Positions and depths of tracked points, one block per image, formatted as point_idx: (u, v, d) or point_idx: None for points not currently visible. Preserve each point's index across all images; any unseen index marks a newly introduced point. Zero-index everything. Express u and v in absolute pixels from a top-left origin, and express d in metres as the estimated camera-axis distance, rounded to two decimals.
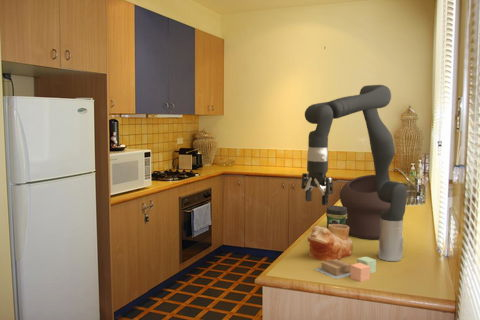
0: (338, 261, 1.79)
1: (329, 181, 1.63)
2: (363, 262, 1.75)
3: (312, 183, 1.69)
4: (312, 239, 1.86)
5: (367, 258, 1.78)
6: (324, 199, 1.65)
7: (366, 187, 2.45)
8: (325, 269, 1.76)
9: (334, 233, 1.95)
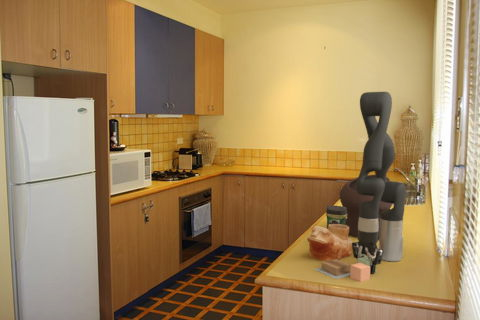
0: (338, 261, 1.79)
1: (380, 254, 1.71)
2: (363, 262, 1.75)
3: (363, 251, 1.76)
4: (312, 239, 1.86)
5: (367, 258, 1.78)
6: (372, 269, 1.74)
7: None
8: (325, 269, 1.76)
9: (334, 233, 1.95)
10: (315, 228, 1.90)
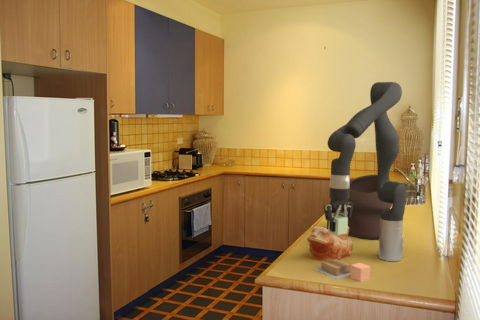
0: (338, 261, 1.79)
1: (325, 209, 1.71)
2: None
3: None
4: (312, 239, 1.86)
5: (341, 217, 1.74)
6: None
7: (366, 187, 2.45)
8: (325, 269, 1.76)
9: None
10: (315, 228, 1.90)
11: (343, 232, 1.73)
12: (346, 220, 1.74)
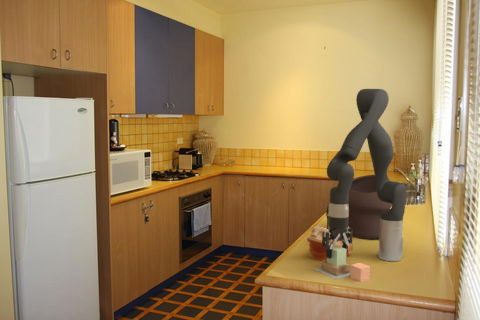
0: None
1: (323, 235, 1.72)
2: None
3: None
4: (312, 239, 1.86)
5: (339, 248, 1.75)
6: None
7: (366, 187, 2.45)
8: (325, 269, 1.76)
9: None
10: (315, 228, 1.90)
11: (342, 263, 1.75)
12: (345, 252, 1.75)
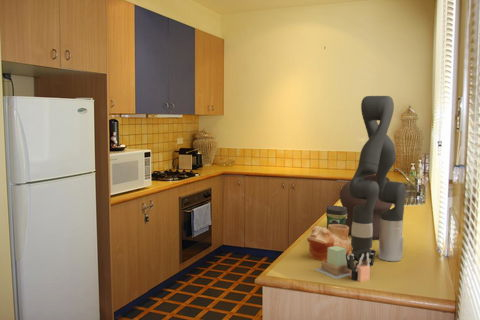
0: None
1: (347, 258, 1.65)
2: None
3: None
4: (312, 239, 1.86)
5: (339, 248, 1.75)
6: None
7: None
8: (325, 269, 1.76)
9: (334, 233, 1.95)
10: (315, 228, 1.89)
11: (342, 263, 1.75)
12: (345, 252, 1.75)
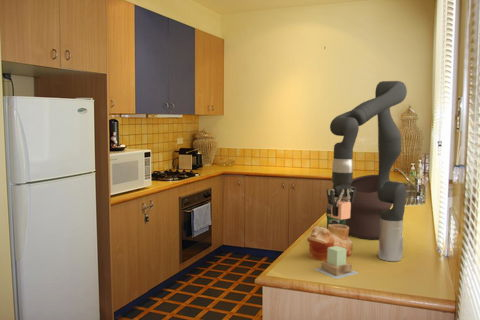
0: None
1: (328, 193, 1.69)
2: None
3: None
4: (312, 239, 1.86)
5: (339, 248, 1.75)
6: None
7: (366, 187, 2.45)
8: (325, 269, 1.76)
9: (334, 233, 1.95)
10: (315, 228, 1.89)
11: (342, 263, 1.75)
12: (345, 252, 1.75)
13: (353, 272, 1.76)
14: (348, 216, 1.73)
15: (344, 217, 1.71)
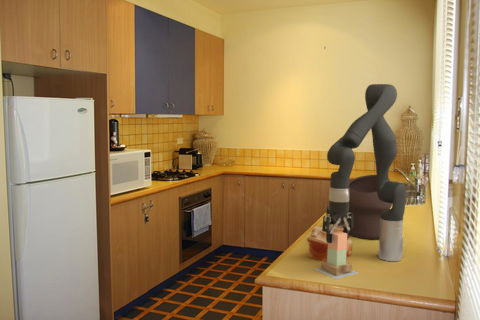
0: None
1: (324, 219, 1.71)
2: None
3: None
4: (312, 239, 1.86)
5: None
6: None
7: (366, 187, 2.45)
8: (325, 269, 1.76)
9: None
10: (315, 228, 1.89)
11: (342, 263, 1.75)
12: (345, 252, 1.75)
13: (353, 272, 1.76)
14: (345, 247, 1.75)
15: (340, 248, 1.73)
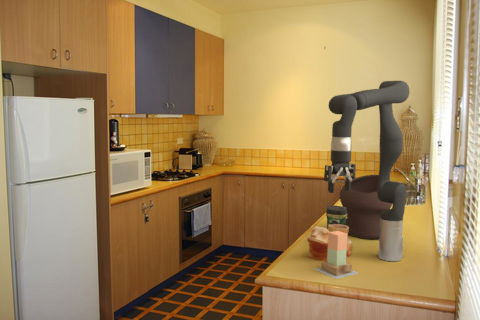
0: None
1: (326, 168, 1.69)
2: None
3: None
4: (312, 239, 1.86)
5: None
6: None
7: (366, 187, 2.45)
8: (325, 269, 1.76)
9: None
10: (315, 228, 1.89)
11: (342, 263, 1.75)
12: (345, 252, 1.75)
13: (353, 272, 1.76)
14: (345, 247, 1.75)
15: (340, 248, 1.73)
